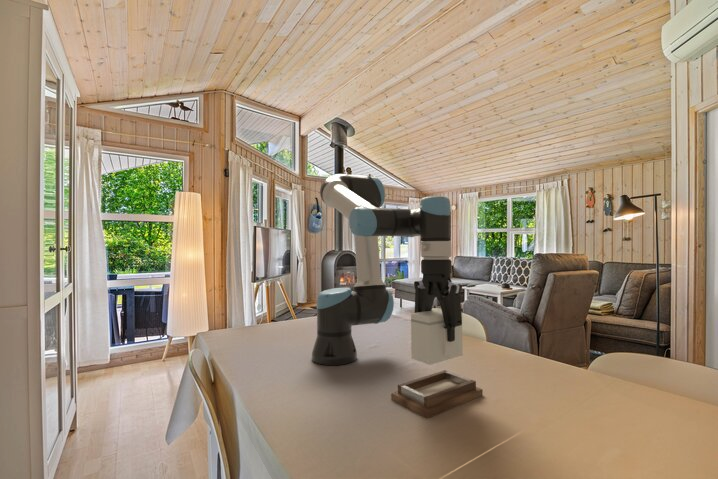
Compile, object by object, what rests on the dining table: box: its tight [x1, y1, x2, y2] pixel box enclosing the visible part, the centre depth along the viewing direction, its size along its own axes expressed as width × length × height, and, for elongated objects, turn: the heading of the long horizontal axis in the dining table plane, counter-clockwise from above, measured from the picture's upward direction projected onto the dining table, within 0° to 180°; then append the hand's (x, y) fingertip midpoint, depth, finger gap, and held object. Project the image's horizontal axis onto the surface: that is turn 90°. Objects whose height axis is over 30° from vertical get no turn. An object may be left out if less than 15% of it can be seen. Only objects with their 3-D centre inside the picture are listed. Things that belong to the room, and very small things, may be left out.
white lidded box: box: [410, 308, 464, 365], centre depth 89 cm, size 6×12×11 cm, turn 126°
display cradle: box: [390, 369, 484, 419], centre depth 89 cm, size 12×20×4 cm, turn 126°
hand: (437, 351), depth 88 cm, fingers closed on white lidded box, 6 cm apart
